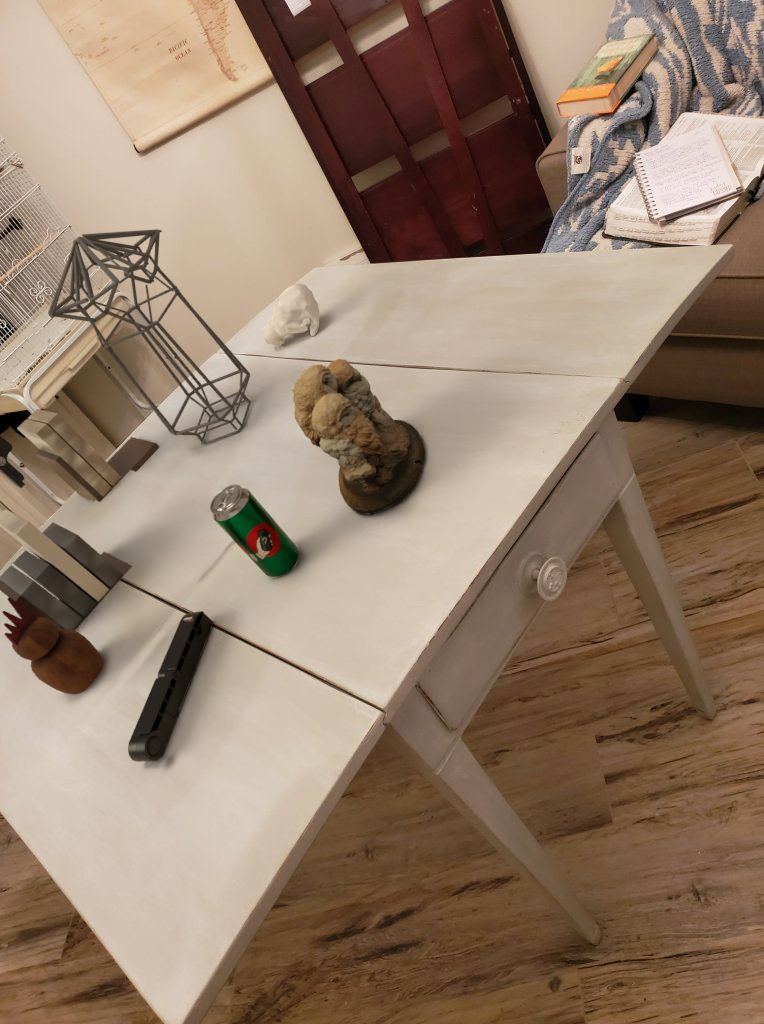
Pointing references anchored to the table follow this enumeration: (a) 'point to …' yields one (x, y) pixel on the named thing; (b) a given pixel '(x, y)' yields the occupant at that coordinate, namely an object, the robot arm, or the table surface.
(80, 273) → the geometric lantern
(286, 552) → the soda can
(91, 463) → the wooden book holder
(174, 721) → the tablet stand
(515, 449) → the table surface
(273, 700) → the table surface
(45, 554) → the cream rectangular block
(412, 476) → the tan stone sculpture
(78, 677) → the wooden figurine
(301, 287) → the white lumpy piece
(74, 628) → the grey rack
